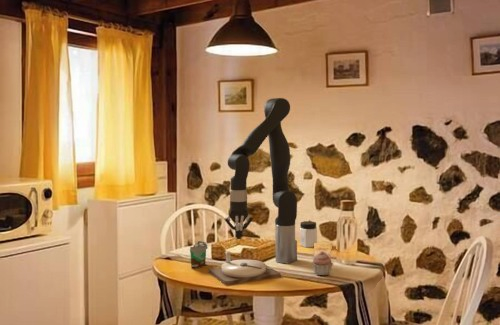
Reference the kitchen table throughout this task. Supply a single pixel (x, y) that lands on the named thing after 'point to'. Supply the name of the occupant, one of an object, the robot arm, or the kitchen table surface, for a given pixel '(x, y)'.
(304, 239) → the jar
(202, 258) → the food container
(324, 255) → the cupcake
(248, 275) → the dial
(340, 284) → the kitchen table surface
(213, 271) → the board
